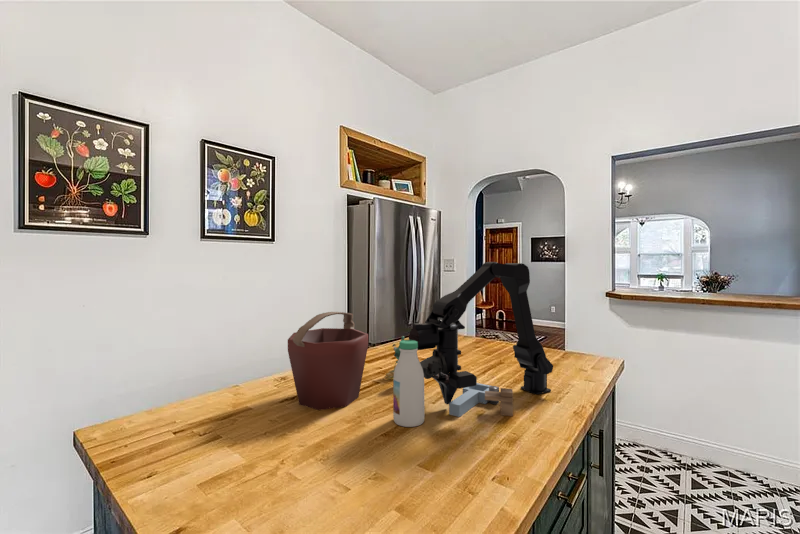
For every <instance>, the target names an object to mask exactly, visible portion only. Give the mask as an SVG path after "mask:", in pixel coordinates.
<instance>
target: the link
mask: <svg viewBox="0 0 800 534" xmlns="http://www.w3.org/2000/svg"><path fill="white" fill-rule="evenodd" d="M489 386H491V385H490V384H489V385H488V384H484V383H480V382H477V385H476V386H471V387H466V388H462V394H460V395H459V396H458V397H456V398H454V399H452V400H451V402H450V403H449V404H448V415H450V416H455V417H459V418H460V417H462V416H464V414H466V413H467V412H468V411H470V410H471V409H473V408H474V407H476V405H478V404H483V405H487V404H488V403H489V400H485V391H489Z"/></svg>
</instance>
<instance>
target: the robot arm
mask: <svg viewBox="0 0 800 534" xmlns="http://www.w3.org/2000/svg"><path fill="white" fill-rule="evenodd" d="M530 275H531V274H530V269H529V267H528V266H527V265H526V264H525V263H523V262H522V263H521V262H519V263H518V262H516V263H515V262H514V263H513V262H512V263H511V262H509V263H508V262H506V263H500V262H497V261H487V262H484V263H483V264H482V265H481V267H480V268H479V269H477V270H476V271H475V272H474V273H473V274H471V276H469V278H468V279H466V280H465V281H464V282H463V284H461V285H460V286H459V287H458V288H456V289H455V290H454V291H453V292H450V293H448V294H445V295H443V296H442V297H440V298H439V299H438V300H435V302H434V303H433V305H432V306H433V307H432V310H431V312H430V313H429V315H428V317H427V318H426V320H425V322H423V323H416V322H415V323H412V328H411V329H410V331H409V335H408V340H415V341H417V342H418V350H417V351H422V350H430V349H433V351H432V355H431V356H428V357H426V358H424V359H423V360H421V361H419V362H420V364H421V366H422V369H423V373H424V380H430V379H433V380H435V381H436V382H437V384H438V386H439V388H440V391H441V395H442V400H443V401H444V402H443V403H444V404H445V405H449V403H450V402H451V401H453V398H454V396H455V394H456V392H457V390H458V389H463V388H466V387H471V386H476V385H477V383H478V381H477V380H478V378H477V376H476V375H475V374H474V373H471V372H470V371H467V370H463V371H461V370H462V366H461V365H460V364H459V356H461V355H462V350H460V349H459V339H458V338H459V333H458V332H459V330H464V329H465V328H466V327H465V326H464V325H463V323H461V321H460V319H461V317H462V316H463V315H464V313H466V311H467V307H468V305H469V303H470V302H471V301H472V300H473V299H474V298H475V297H476V296H477V295H478V294H479V293H480V292H481V291H482V290H483V289H484V288H485V287H486V286H487V285H488V284H489V283H491V282H492V281H493V280H494V279H495V278H499V279H500V281H501V284H502V286H503V287H504V289H505V290H506V292H507V293H508V294H509V298H510V302H511V308H512V312H513V319H514V323H515V327H516V332H517V336H518V339H517V342H516V344H513V345H512V349H513V352H514V358H515V359H516V360H517V363H518V364H519V368H521V369H524V373H523V385H522V386H520V389H522V390H524V391H526V392H529V393H531V394H533V395H540V394H544V393H550V392H552V389H550V388H549V387H548V375H549V374H551V373H553V369H554V364H552V362H551V361H550V360H549V359H548V358H547V355H546V351H545V349H544V346H543V345H542V344H541V342H540V341H539V340H538V338H537V337H536V331H535V327H534V322H533V317H532V316H533V315H532V313H531V312H532V310H531V306H530V301H529V297H528V289H529V286H530V284H531V283H530V282H531V280H530V279H531V278H530Z"/></svg>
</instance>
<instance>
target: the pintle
mask: <svg viewBox="0 0 800 534" xmlns="http://www.w3.org/2000/svg"><path fill="white" fill-rule="evenodd" d="M489 391H494V392H500V387H499V386H496V385H490V386H489ZM488 403H489V404H492V405H498V404H500V401H493V400H489V402H488Z"/></svg>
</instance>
